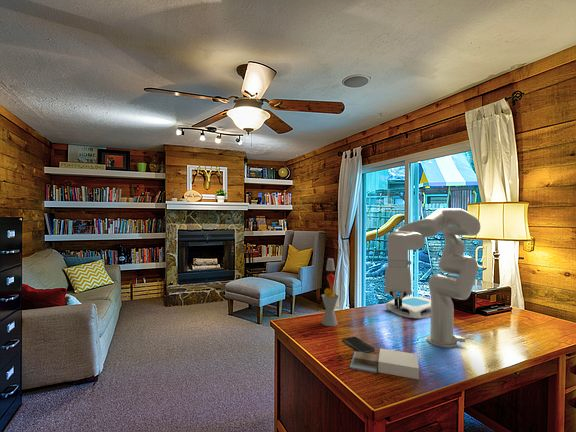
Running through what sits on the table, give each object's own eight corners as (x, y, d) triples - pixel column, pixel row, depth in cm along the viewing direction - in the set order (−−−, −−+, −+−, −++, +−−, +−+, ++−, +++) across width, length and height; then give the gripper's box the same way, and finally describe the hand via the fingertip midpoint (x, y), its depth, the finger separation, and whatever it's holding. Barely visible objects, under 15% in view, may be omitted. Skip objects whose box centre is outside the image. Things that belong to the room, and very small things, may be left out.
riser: (416, 364, 121) (417, 354, 121) (418, 379, 110) (418, 368, 110) (380, 358, 126) (380, 348, 126) (378, 372, 115) (378, 361, 114)
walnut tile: (379, 360, 123) (379, 355, 123) (377, 367, 117) (378, 361, 117) (356, 356, 126) (356, 351, 126) (354, 362, 120) (354, 357, 120)
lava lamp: (332, 319, 171) (333, 257, 171) (341, 325, 163) (342, 259, 163) (318, 321, 168) (319, 257, 168) (326, 327, 160) (327, 260, 159)
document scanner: (443, 312, 186) (444, 302, 186) (415, 320, 172) (415, 309, 172) (413, 304, 204) (413, 294, 204) (385, 310, 189) (385, 300, 189)
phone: (360, 352, 129) (341, 338, 143) (360, 355, 129) (341, 341, 143) (375, 349, 132) (355, 336, 146) (375, 352, 132) (355, 338, 146)
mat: (378, 356, 127) (378, 355, 127) (376, 373, 114) (376, 371, 114) (354, 352, 130) (354, 351, 130) (349, 368, 117) (349, 366, 117)
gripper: (416, 262, 126) (417, 306, 126) (379, 261, 131) (380, 303, 132) (417, 266, 119) (418, 312, 119) (377, 264, 124) (378, 309, 125)
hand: (398, 307), depth 126 cm, fingers closed
